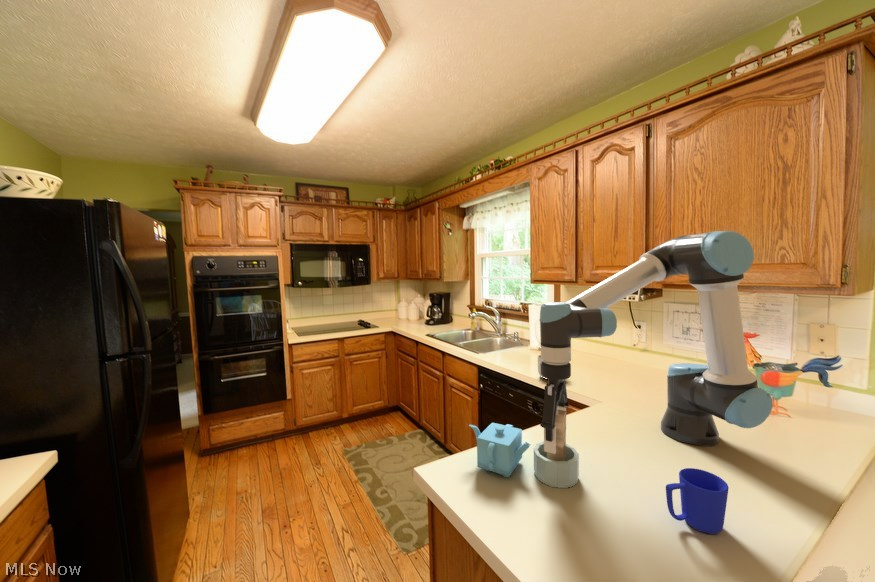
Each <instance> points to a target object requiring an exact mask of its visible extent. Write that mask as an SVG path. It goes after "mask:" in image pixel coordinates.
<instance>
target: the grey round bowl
mask: <svg viewBox="0 0 875 582" xmlns="http://www.w3.org/2000/svg"><path fill="white" fill-rule="evenodd" d="M533 471H534V475H535V477H536V479H537V478H538V479H539V480H540V482H541V483H542V482H543V483H542V484H544V483H545V484H544V485H546V486H548V485H549V487H551V486H552V487H551V488H554V487H558V488H557V489H569V488H568V487H570V488H573V487H574V485H575V484H576V485H577V484H578V483H579V476H580V454H579V452H578V451H577V450H576V448H575V447H573V446H571V445H568V444H567V443H566V452H565V461H554V460H550V459H547V452H545V451H544V441H541V442H538V443H536V444H535V446H534V447H533ZM538 479H537V480H538ZM539 480H538V481H539ZM577 482H578V483H577ZM576 485H575V486H576ZM572 486H573V487H572Z"/></svg>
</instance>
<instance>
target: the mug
mask: <svg viewBox="0 0 875 582" xmlns="http://www.w3.org/2000/svg"><path fill="white" fill-rule="evenodd" d="M678 480H679V483H678V482H674V483H667V484H666V485H665V495H666V496H665V497H666V504H667V509H668V512H669V514H670V516H671V517H672V518H673V519H675V520H676V521H679V522H680V521H685V522H686V523H687V524H688V525H689V526H690V527H692V528H694V529H695V530H697V531H699V532H701V533H704V534H709V535H710V534H711V535H715V534H719V533H721V532H722V530H723V529H724V526H725V517H726V509H727V502H728V496H729V488H730V487H729V485H728V483H727V482H726V481H725V479H723V478H722V477H720V476H718V475H716V474H714V473H712V472H709V471H706V470H703V469H700V468H693V467H687V468H686V467H685V468H683V469H681V470H679V472H678ZM676 490H679V492H680V503H681V504H680V506H681V514H676V513H675V510H674V509H675V508H674V502H673V501H674V500H673V491H676Z"/></svg>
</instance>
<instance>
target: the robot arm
mask: <svg viewBox="0 0 875 582" xmlns="http://www.w3.org/2000/svg"><path fill="white" fill-rule="evenodd" d="M754 259H755V252H754V248H753V245H752V243H751V242H750V241H749V239H748V238H747V237H746V236H744V235H742V234H741V233H740V232H736V231H735V230H734V231H732V230H715V231H714V230H713V231H710V232H709V231H708V232H702V233H694V234H685V235H680V236H676V237H674V238H671V239H669V240H667V241H665V242H663V243H661V244H659V245H657V246H656V247H654V248H652V249H650V250H648V251H647V252H644V253H643V254H642V255H640V256H639V258H638V261H635V262H633V263H632V264H631V265H628V266H627V267H626V268H624V269H622V270H620V271H619V272H616V273H615V274H614V275H612V276H609V277H608V278H606V279H604V280H603V281H601V282H599V283H598V284H595V285H594V286H592V287H591V288H589V289H587V290H585V291H583V292H582V293H580V294H579V295H577V296H575V297H573V298H571V299H569V300H568V301H565V302H563V301H562V302H561V301H557V302H556V301H549V302H548V301H547V302H544V303H542V304H541V306H540V313H539V328H540V347H538V351H539V352H540V355H541V359H542V361H541V375H542V376H543V377H546V378H547V379H548V380H547V381H548V383H546V385H545V386H544V396H543V397H544V399H543V408H542V409H543V410H542V416H541V417H542V418H541V422H540V427H541V428H543V442H544V451H545V452H549V453H553V454H556V427H555V420H556V412H557V409H558V410H563V411H566V412H567V407H570V402H568V400H569V399H568V393H567V384H566V382H567V381H566V380H568V379H570V378H571V376H572V365H571V363H570V362H571V361H572V339H579V338H580V339H583V338H584V339H586V338H603V337H605V338H606V337H610V336H612V335H614V334H615V332H616V331H617V328H618V326H617V323H618V319H617V317H616V315H615V313H614V311H613V310H611V309H610V307H612V305H615V304H617V303H618V302H620V301H622V300H624V299H625V298H627V297H629V296H630V295H632V294H634V293H636V292H637V291H639V290H641V289H643V288H645V287H647V286H648V285H650V284H651V283H653V282H662V281H664V280H665V279H667V278H670V277H673V276H681V275H686V276H687V277H688V283H689V285H690V286H692V287H694V288H695V289H696V293H697V299H698V305H699V306H698V307H699V312H700V320H701V328H702V334H703V342H704V347H705V349H704V350H705V356H706V362H707V364H701V363H681V362H680V363H673V364H671V365H669V367H668V369H667V375H666V377H667V379H666V380H667V407H666V410H665V412H664V414H663V416H662V419H661V421H660V430H661V431H662V433H663V434H664V435H666V436H668V437H670V438H671V439H674V440H676V441H678V442H682V443H685V444H689V445H695V446H705V447H706V446H707V447H709V446H710V447H711V446H714V445H717V444H718V443H719V442H720V434H719V430H718V427H717V426H716V422H715V419H714V418H713V416H714V417H716V418H718V419H721V420H723V421H725V422H726V423H727V424H730V425H734V426H737V427H739V428H741V429H752V428H756V427H758V426H760V425H762V424H763V423H764V422H765V421H766V420H767V419H768V418H769V417H770V415H771V413H772V410H773V406H774V405H773V398H772V395H771V394H770V393H768V392H767V391H766V390H765V389H763V388H761V387H759V384H758V378H757V375H756V374H755V373H753V372H752V371H750V370H749V366H748V359H747V352H746V351H747V350H746V344H745V335H744V329H743V319H742V312H741V304H740V297H739V296H740V295H739V291H738V288H739V287H738V285H739V284H740V283H741V282H742V281H743V280H744V279H745V275H744V273H745V274H746V273H747V272H748V271H749V270H750V268H752V264H753V262H754Z"/></svg>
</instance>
